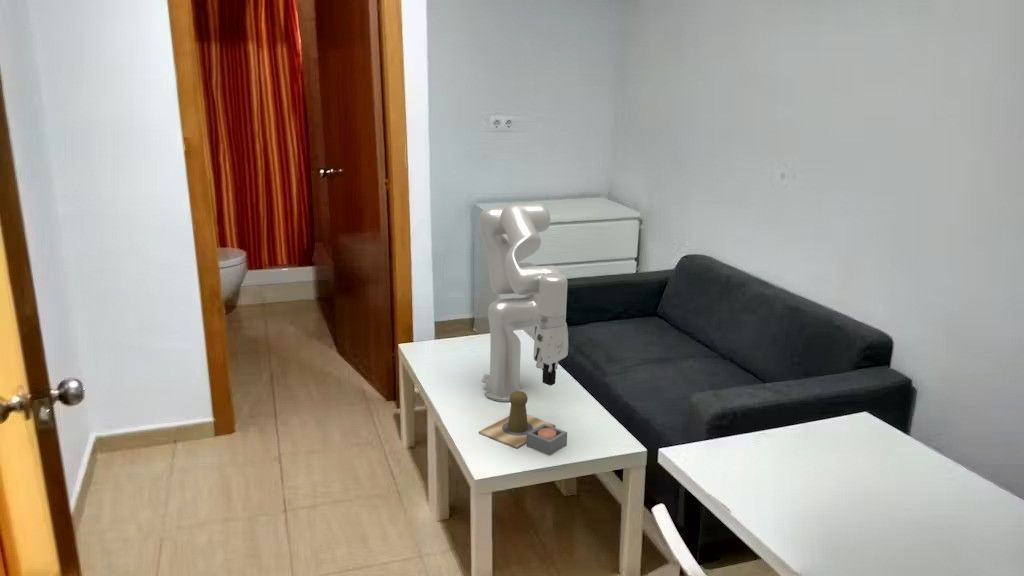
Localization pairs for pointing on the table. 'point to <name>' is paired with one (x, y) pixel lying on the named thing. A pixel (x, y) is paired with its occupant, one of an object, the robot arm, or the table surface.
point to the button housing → (546, 440)
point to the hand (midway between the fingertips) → (548, 383)
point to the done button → (547, 433)
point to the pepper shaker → (518, 412)
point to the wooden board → (509, 438)
